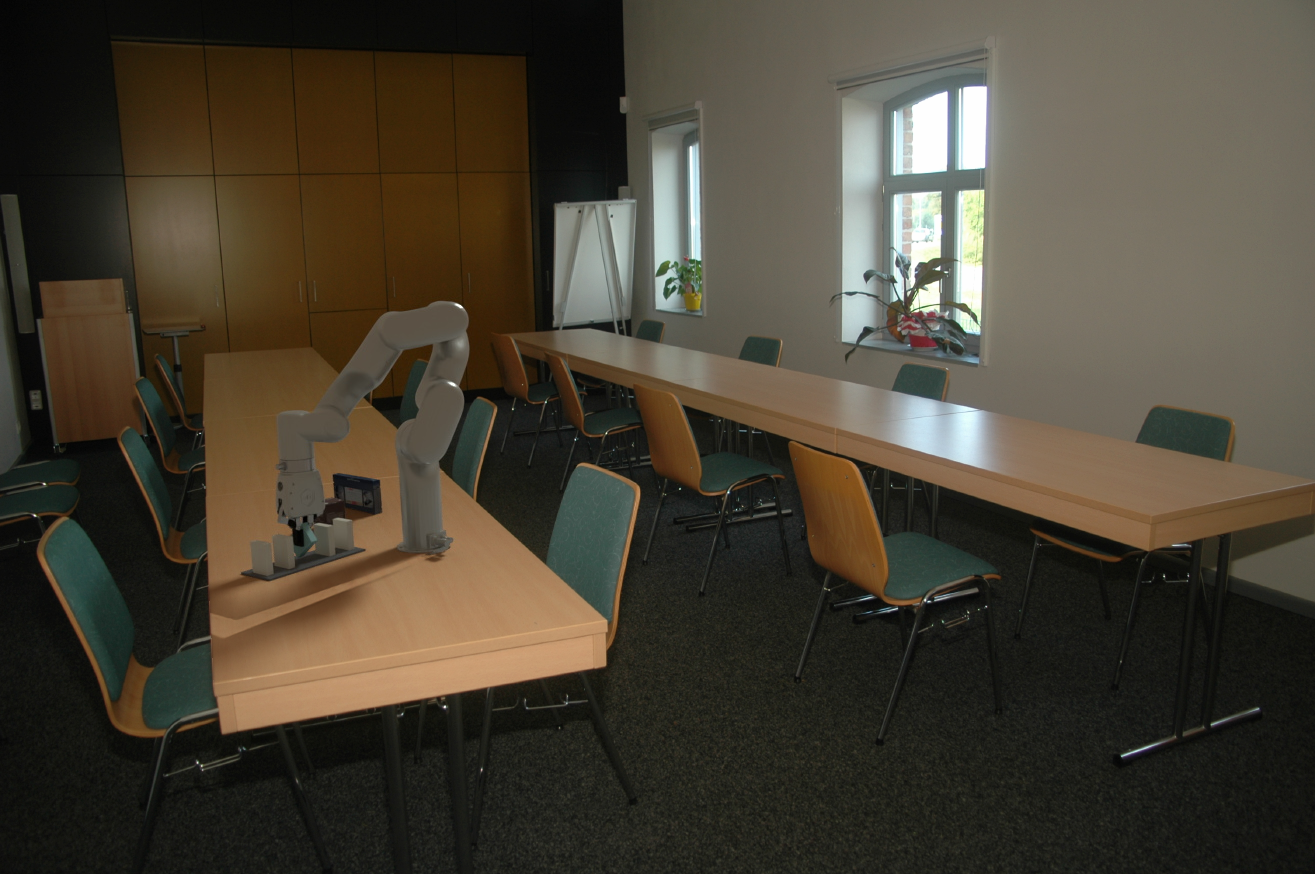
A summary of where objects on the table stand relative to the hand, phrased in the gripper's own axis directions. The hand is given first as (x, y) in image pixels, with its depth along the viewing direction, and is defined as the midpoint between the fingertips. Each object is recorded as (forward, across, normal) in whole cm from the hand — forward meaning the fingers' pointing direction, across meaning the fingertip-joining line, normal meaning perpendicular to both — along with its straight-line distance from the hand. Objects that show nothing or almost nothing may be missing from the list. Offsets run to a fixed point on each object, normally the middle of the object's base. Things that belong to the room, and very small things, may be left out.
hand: (302, 544), depth 211 cm
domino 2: (+4, -5, 0) cm, 6 cm away
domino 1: (+4, -11, 0) cm, 11 cm away
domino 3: (+4, +6, 0) cm, 7 cm away
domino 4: (+4, +11, 0) cm, 12 cm away
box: (+4, +23, +20) cm, 31 cm away
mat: (+4, 0, 0) cm, 4 cm away
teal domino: (+1, 0, +3) cm, 3 cm away
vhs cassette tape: (+4, +39, +28) cm, 48 cm away
